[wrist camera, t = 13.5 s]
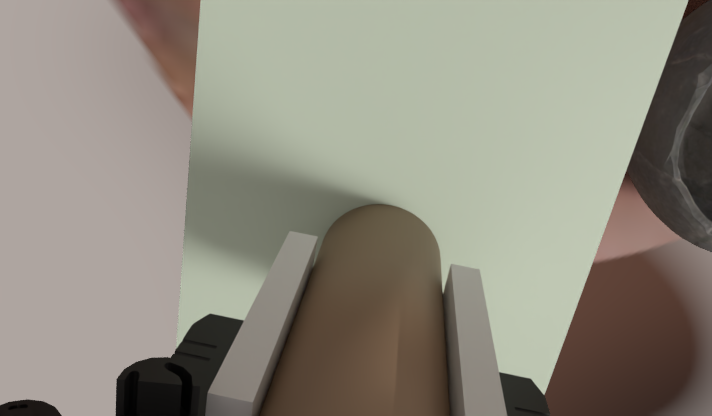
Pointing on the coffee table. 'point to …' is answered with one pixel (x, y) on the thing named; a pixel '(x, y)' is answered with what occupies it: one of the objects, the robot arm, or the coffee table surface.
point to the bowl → (680, 135)
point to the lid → (410, 177)
